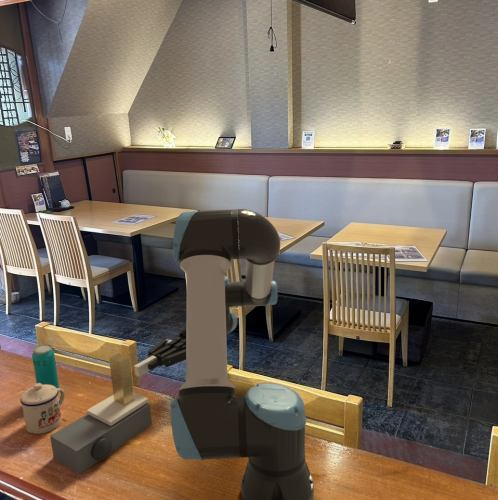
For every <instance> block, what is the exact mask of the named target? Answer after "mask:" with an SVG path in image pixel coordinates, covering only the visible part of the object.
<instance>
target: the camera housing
mask: <svg viewBox="0 0 498 500" xmlns="http://www.w3.org/2000/svg"><path fill="white" fill-rule="evenodd" d="M152 424H153V423H152V412H151V403H149V402H148V403H146V404H144V405H143V406H141V407H140V408H138V409H137V410H135V411H134V412H132V413H130V414H129V415H127V416H126V417H124V418H123V419H121V420H119V421H118V422H116V423H115V424H113V425H112V426H110V425H108V424H106V423H104V422H102V421H100V420H98V419H96V418H94V417H92V416H90V415H88V414H87V413H86V414H85V415H83V416H81V417H79V418H78V419H76V420H74V421H72V422H71V423H69V424H68V425H66V426H64V427H63V428H61V429H59V430H57V431H55V432H54V433H52V434H51V435H49V437H50V443H51V450H52V456H53V458H54V459H55V460H57V461H58V462H60V463H61V464H63V465H65V466H66V467H67V468H69V469H71V470H73V471H74V472H76V473H77V474H80V475H81V474H82V473H84V472H85V471H86V470H88V469H90V468H91V467H93V465H95V464H96V463H98V462H102V461H104V460H106V459H107V458H108V457H109V455H110V454H111V453H112V452H114V451H115V450H117V449H118V448H120V447H122V446H123V445H124V444H125V443H127V442H129V441H130V440H131V439H134V437H136V436H138V435H139V434H140V433H142V432H143V431H145V430H146V429H148V428H149V427H151V426H152Z"/></svg>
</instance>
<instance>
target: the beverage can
mask: <svg viewBox="0 0 498 500" xmlns="http://www.w3.org/2000/svg"><path fill="white" fill-rule="evenodd" d="M31 354H32V355H31V357H32V358H31V359H32V365H33V370H34V377H35V384H37V383H41V384H42V385H53V386H55V387H56V388H60V381H59V375H58V369H57V362H56V357H55V355H56V354H55V351H54V349H53V346H52V345H51V344H40V345H37V346H35V347H34V348H32V353H31ZM58 394H60V392H58Z"/></svg>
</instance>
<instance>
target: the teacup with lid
mask: <svg viewBox="0 0 498 500" xmlns="http://www.w3.org/2000/svg"><path fill="white" fill-rule="evenodd" d="M58 392H59V393H58ZM59 394H60V397H59ZM65 396H66V393H65V390H64V389H63V388H60V387H59V388H56V387H55V386H53V385H42V384H41V383H35V384H34V385H33V386H32V387H30V388H27V390H25V391H24V392H23V393H22V394H21V395H20V399H19V400H20V403H21V407H22V412H23V419H24V423H25V429H26V430H27V432H28V433H31V434H35V435H40V434H45V433H49V432H51V431H53V430H56V428H58V427H59V426H60V424H61V423H62V413H61V406H62V404H63V403H64V401H65Z"/></svg>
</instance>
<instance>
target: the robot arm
mask: <svg viewBox="0 0 498 500" xmlns="http://www.w3.org/2000/svg"><path fill="white" fill-rule="evenodd" d="M172 239H173V240H172V242H173V245H172V255H173V256H172V257H173V259H174V261H175V262H178V263H179V268H180V269H181V270H182V271H183V272H184V273H185V274H186V314H185V316H186V325H185V327H186V328H184V329H183V330H181V332H180V333H179V335H178V336H176V337H173V338H172V339H168V338H167V336H166V337H162V339H161V341H159V343H156V345H155V346H153V347H152V348H150V350H148V351H147V357H146V358H144V359H142V360H141V361H140V362H138V363H137V364H135V365H133V369H134V375H135V376H136V377H141V376H143V375H145V374H146V373H148V372H149V371H152V370H154V369H156V368H158V367H163V366H164V367H165V368H168V367H171V366H173V365H177V364H178V363H181V362H184V361H186V362H185V366H186V367H185V368H186V369H185V382H184V383H183V384H182V385H181V387H179V388H178V398H177V397H175V398H174V399H172V400H171V402H170V412H169V413H170V423H171V424H170V425H171V431H172V439H173V444H174V447H175V451H176V453H177V455H178V457H180V458H181V459H183V460H185V461H186V460H188V461H190V460H194V461H195V460H197V461H198V460H199V461H202V462H203V461H204V460H219V459H220V460H222V459H241V458H248V461H247V464H246V466H245V470H244V473H243V476H242V479H241V484H240V488H241V490H240V491H241V498H242V500H314V497H315V496H314V495H315V491H314V490H315V487H314V480H313V477H312V475H311V472H310V469H309V467H308V464H307V461H306V424H307V417H306V413H305V412H306V411H305V409H306V408H305V402H304V400H303V399H302V396H301V395H300V394H299V393H298V392H297V391H295V390H293V389H291V388H290V387H289V386H286V385H283V384H280V383H273V382H264V383H263V382H262V383H258V384H256V385H253V386H251V387H250V388H249V389H248V390H247V392H246V393H245V395H242V396H241V395H239V396H236V386H234V385H233V383H232V382H231V381H229V379H228V352H227V351H228V350H227V349H228V346H227V345H228V344H227V335H229V334H230V333H231V332H233V331H234V330H235V329H236V328H237V325H238V318H237V316H236V314H235V311H233V310H231V308H233V307H234V308H235V307H259V306H260V307H261V306H262V307H263V306H264V307H267V306H272V305H273V306H274V305H276V304H277V302H278V286H277V285H278V284H277V282H276V281H275V280H273V276H274V267H275V260H277V258H278V256H279V254H280V250H281V238H280V235H279V233H278V231H277V229H276V227H275V226H274V225H273V223H272V222H271V221H270V220H268V218H266V217H265V216H263V215H262V214H260V213H259V212H256V211H254V210H251V209H247V208H237V209H236V208H235V209H211V210H200V209H196V210H193V211H183V212H181V213H180V214H179V215H178V217H177V219H176V221H175V225H174V229H173V238H172ZM240 259H241V260H242V259H243V260H245V281H229V277H228V276H227V275H225V273H226V272H228V271H229V270H230V268H231V266H232V260H240Z"/></svg>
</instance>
